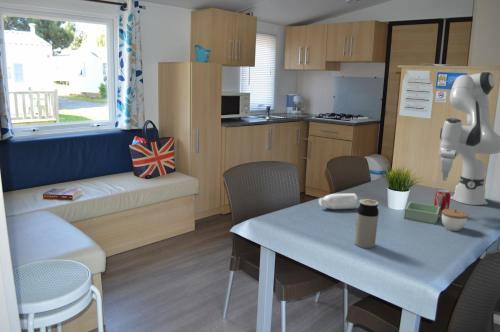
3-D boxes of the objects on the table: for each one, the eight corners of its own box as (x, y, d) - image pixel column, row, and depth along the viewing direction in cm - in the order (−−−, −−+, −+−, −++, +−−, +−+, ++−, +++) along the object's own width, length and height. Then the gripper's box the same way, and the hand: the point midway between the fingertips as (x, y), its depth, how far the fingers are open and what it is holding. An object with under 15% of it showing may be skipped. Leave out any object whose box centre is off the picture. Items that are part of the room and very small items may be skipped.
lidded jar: (434, 225, 194) (437, 206, 192) (452, 223, 198) (454, 204, 196) (452, 233, 184) (455, 213, 182) (470, 231, 188) (474, 211, 186)
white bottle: (316, 207, 215) (317, 192, 214) (350, 206, 219) (351, 191, 218) (322, 211, 208) (323, 196, 206) (356, 210, 212) (358, 195, 210)
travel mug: (378, 244, 168) (382, 202, 164) (369, 250, 162) (373, 206, 159) (360, 239, 173) (364, 197, 170) (350, 244, 168) (354, 201, 164)
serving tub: (408, 210, 215) (409, 201, 214) (438, 216, 208) (440, 206, 207) (404, 218, 203) (405, 208, 202) (436, 224, 196) (437, 214, 195)
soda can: (449, 216, 209) (452, 193, 207) (434, 214, 210) (437, 191, 208) (446, 211, 216) (449, 189, 213) (431, 210, 217) (434, 188, 215)
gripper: (443, 148, 217) (440, 174, 220) (440, 153, 199) (436, 181, 202) (457, 149, 214) (453, 176, 217) (454, 154, 196) (450, 183, 199)
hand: (445, 178), depth 209 cm, fingers open, 8 cm apart
